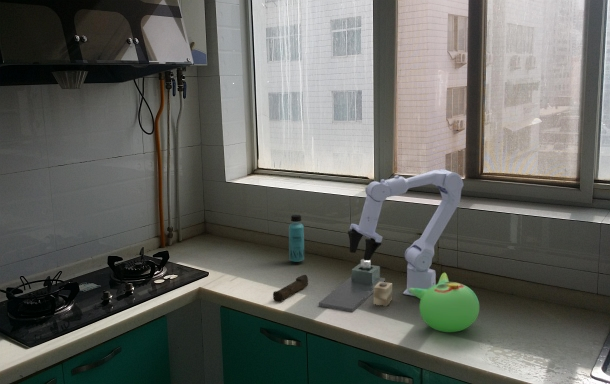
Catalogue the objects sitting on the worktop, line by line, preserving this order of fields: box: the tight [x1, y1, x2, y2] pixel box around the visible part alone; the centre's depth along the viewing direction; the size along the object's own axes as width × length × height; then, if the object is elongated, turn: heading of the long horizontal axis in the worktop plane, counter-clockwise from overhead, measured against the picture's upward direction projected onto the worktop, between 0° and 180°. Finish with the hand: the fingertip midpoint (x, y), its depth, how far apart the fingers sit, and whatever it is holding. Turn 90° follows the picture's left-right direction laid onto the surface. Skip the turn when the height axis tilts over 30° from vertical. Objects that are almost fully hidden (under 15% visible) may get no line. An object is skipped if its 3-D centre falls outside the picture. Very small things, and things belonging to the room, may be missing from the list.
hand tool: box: [272, 274, 309, 303], centre depth 197 cm, size 19×4×5 cm, turn 144°
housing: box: [373, 281, 393, 307], centre depth 187 cm, size 4×6×6 cm
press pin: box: [360, 258, 372, 271], centre depth 205 cm, size 4×4×4 cm
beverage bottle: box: [288, 214, 305, 263], centre depth 228 cm, size 6×7×20 cm
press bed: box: [318, 263, 386, 313], centre depth 195 cm, size 12×31×6 cm, turn 153°
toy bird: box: [408, 272, 480, 333], centre depth 165 cm, size 18×17×15 cm
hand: (359, 256), depth 188 cm, fingers open, 7 cm apart
